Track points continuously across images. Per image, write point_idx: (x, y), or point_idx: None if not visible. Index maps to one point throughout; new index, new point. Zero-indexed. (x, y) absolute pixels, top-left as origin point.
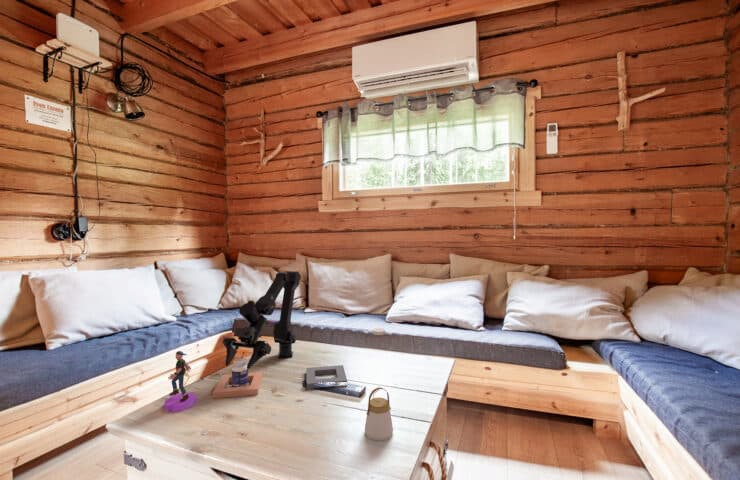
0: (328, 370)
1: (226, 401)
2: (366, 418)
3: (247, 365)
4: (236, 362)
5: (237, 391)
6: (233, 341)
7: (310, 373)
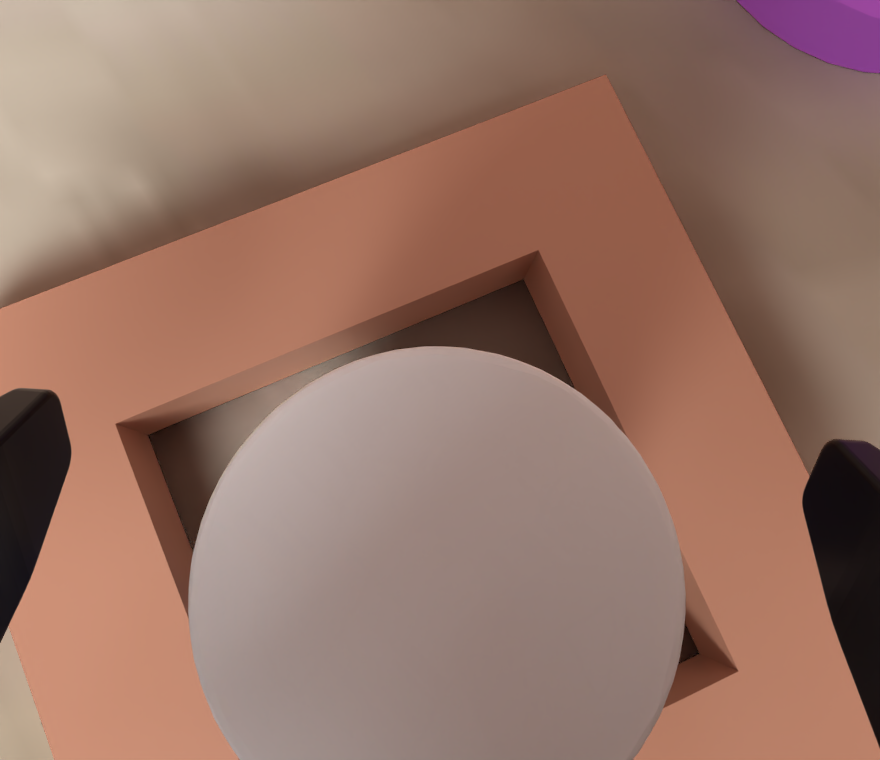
0: None
1: (336, 82)
2: None
3: (18, 413)
4: (436, 366)
5: (250, 216)
6: None
7: None
